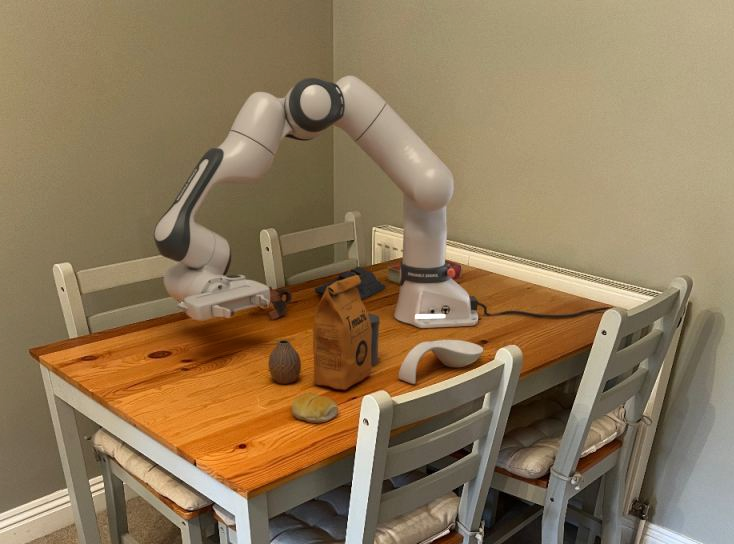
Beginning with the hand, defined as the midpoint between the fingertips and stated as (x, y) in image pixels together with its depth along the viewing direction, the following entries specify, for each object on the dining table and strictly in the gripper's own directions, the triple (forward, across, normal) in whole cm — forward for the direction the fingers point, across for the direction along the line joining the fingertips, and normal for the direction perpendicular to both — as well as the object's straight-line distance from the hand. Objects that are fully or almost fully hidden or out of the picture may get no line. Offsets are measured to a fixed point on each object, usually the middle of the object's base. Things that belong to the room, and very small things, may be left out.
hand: (249, 309), depth 162 cm
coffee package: (+21, +9, +13) cm, 26 cm away
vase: (+12, 0, +13) cm, 18 cm away
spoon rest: (+30, +30, +13) cm, 44 cm away
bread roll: (+29, -7, +13) cm, 33 cm away
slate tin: (+15, +20, +13) cm, 28 cm away
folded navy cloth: (-27, +55, +13) cm, 63 cm away
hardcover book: (-22, +82, +13) cm, 86 cm away
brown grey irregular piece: (-26, +26, +13) cm, 39 cm away
